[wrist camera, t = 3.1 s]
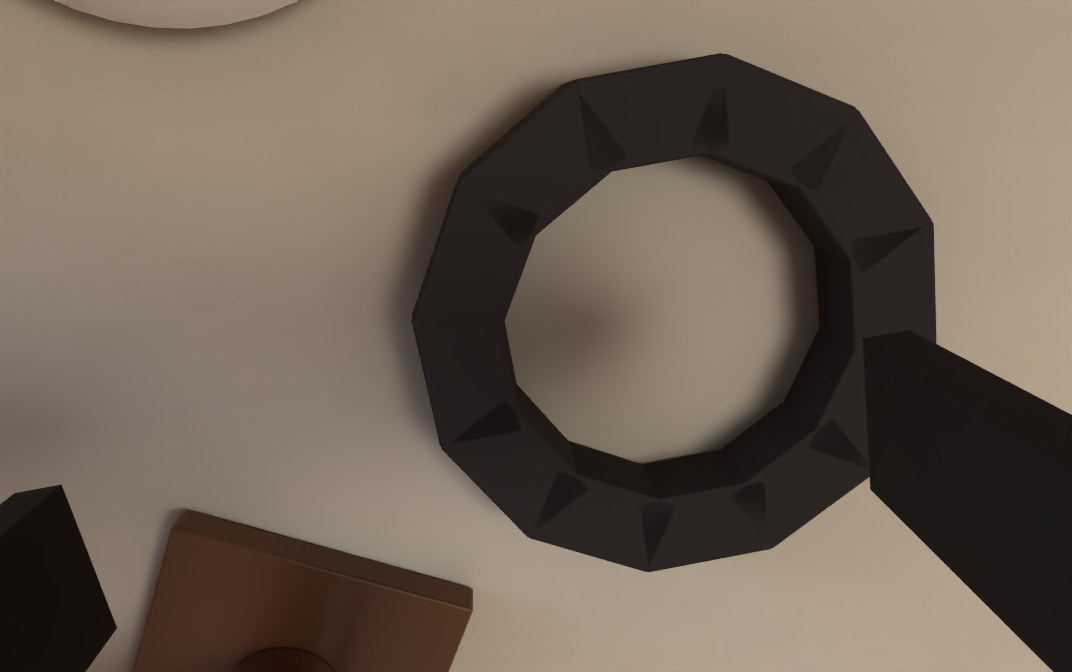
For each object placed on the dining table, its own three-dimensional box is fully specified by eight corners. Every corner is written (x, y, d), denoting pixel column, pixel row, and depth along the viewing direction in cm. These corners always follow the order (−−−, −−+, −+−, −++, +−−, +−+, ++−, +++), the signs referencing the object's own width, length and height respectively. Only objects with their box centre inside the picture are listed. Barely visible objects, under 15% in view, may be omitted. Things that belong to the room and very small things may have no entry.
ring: (366, 452, 20) (354, 488, 18) (522, -14, 17) (526, -30, 15) (773, 574, 22) (801, 617, 20) (975, 171, 19) (1030, 178, 17)
